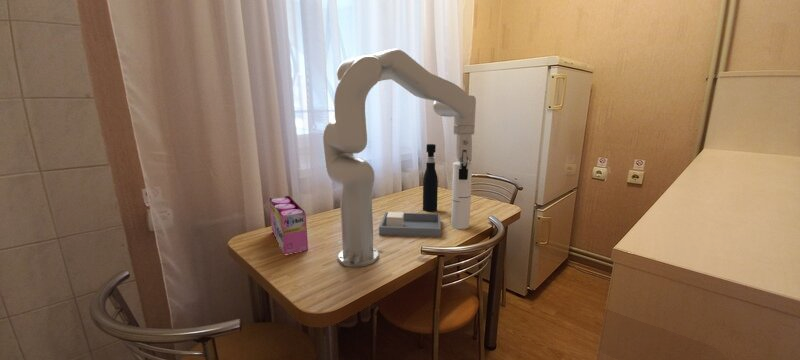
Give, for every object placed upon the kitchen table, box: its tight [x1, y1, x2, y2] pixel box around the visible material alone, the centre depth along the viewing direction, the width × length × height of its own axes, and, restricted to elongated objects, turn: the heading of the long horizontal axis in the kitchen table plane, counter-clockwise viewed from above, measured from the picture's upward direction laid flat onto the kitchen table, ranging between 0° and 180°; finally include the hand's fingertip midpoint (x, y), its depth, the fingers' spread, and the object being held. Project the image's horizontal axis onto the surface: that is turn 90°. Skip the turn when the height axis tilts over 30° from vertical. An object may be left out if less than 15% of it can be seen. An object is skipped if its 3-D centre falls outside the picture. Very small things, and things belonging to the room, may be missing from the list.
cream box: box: [386, 211, 405, 227], centre depth 122 cm, size 6×6×5 cm
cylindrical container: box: [450, 161, 473, 230], centre depth 123 cm, size 7×7×25 cm
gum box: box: [268, 195, 309, 255], centre depth 112 cm, size 24×8×14 cm, turn 31°
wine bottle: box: [422, 143, 439, 213], centre depth 139 cm, size 6×6×30 cm
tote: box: [378, 211, 442, 238], centre depth 122 cm, size 16×22×4 cm
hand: (462, 176), depth 122 cm, fingers closed on cylindrical container, 7 cm apart
